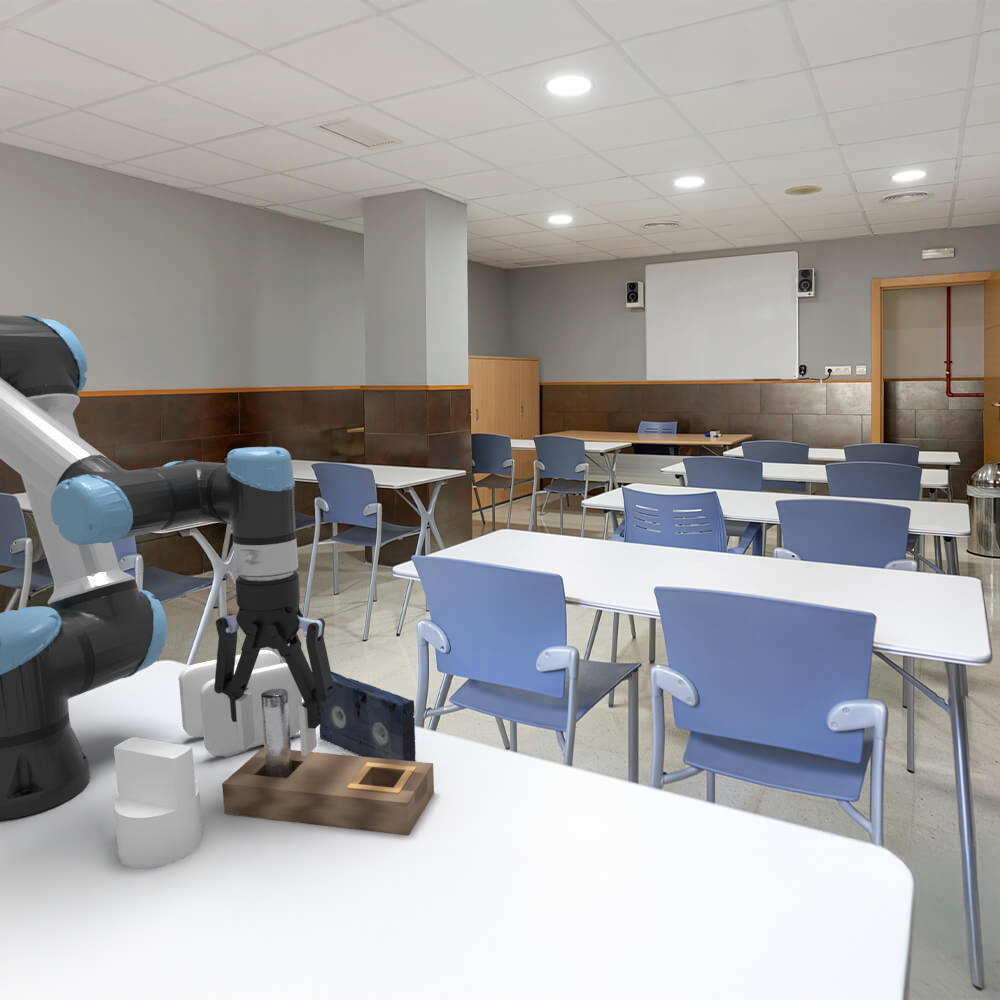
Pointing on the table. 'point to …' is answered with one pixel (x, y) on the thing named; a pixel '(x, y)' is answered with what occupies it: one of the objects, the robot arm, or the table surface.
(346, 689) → the vhs cassette tape
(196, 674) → the cable organizer
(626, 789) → the table surface
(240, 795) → the mount block
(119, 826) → the cylinder with rectangular tab
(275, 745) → the lock pin
